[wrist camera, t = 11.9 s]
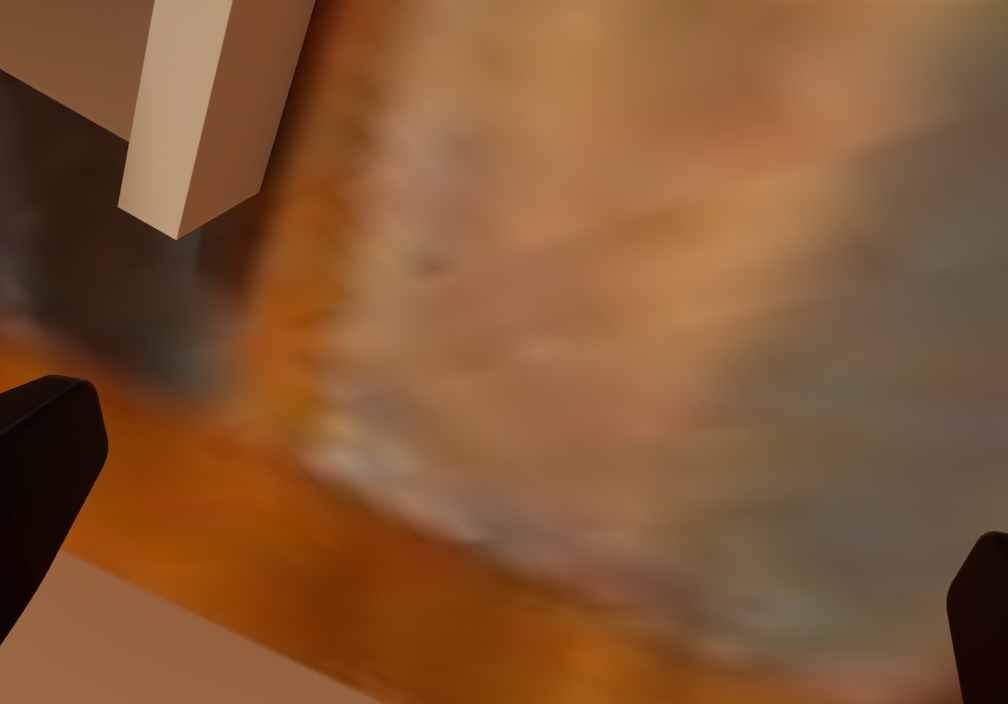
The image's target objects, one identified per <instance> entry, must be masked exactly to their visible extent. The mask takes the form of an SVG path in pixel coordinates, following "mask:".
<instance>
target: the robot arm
mask: <svg viewBox="0 0 1008 704" xmlns="http://www.w3.org/2000/svg"><path fill="white" fill-rule="evenodd" d="M107 454H108V437H107V433H106V428H105V424H104V420H103V415H102V411H101V406H100V402H99V397H98V393H97V390H96V388H95V387H94V385H93V384H92V383H91V382H89V381H87V380H84V379H79V378H73V377H67V376H61V375H48V376H44V377H42V378H39V379H36V380H34V381H31V382H29V383H26V384H24V385H21V386H18V387H16V388H13V389H11V390H8V391H5V392H3V393H0V645H1V644H2V642H3V641H4V639H5V638H6V636H7V635H8V633H9V632H10V631H11V629H12V628H13V626H14V625H15V623H16V622H17V620H18V618H19V617H20V616H21V614H22V612H23V611H24V609H25V608H26V606H27V605H28V603H29V602H30V600H31V599H32V597H33V595H34V594H35V592H36V590H37V589H38V587H39V586H40V584H41V582H42V580H43V579H44V577H45V575H46V573H47V572H48V570H49V568H50V566H51V564H52V562H53V561H54V559H55V557H56V555H57V553H58V551H59V549H60V547H61V545H62V544H63V542H64V540H65V538H66V536H67V534H68V532H69V530H70V528H71V527H72V525H73V523H74V521H75V519H76V517H77V515H78V513H79V511H80V510H81V508H82V506H83V504H84V502H85V500H86V498H87V496H88V494H89V493H90V491H91V489H92V487H93V485H94V483H95V481H96V479H97V477H98V476H99V474H100V472H101V470H102V468H103V466H104V464H105V461H106V458H107ZM947 615H948V621H949V626H950V632H951V638H952V643H953V649H954V655H955V660H956V666H957V672H958V677H959V683H960V689H961V694H962V700H963V704H1008V533H1004V532H998V531H992V532H987V533H985V534H984V535H982V536H981V537H980V538H979V539H978V541H977V542H976V544H975V545H974V547H973V549H972V550H971V552H970V553H969V555H968V557H967V558H966V560H965V562H964V563H963V565H962V567H961V568H960V570H959V571H958V573H957V575H956V576H955V578H954V580H953V581H952V583H951V585H950V587H949V590H948V594H947Z"/></svg>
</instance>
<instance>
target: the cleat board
mask: <svg viewBox="0 0 1008 704" xmlns="http://www.w3.org/2000/svg"><path fill="white" fill-rule="evenodd" d="M315 1H316V0H0V69H1V70H3V71H5V72H7V73H8V74H10V75H12V76H14V77H15V78H17V79H19V80H21V81H22V82H24V83H26V84H28V85H29V86H31V87H33V88H35V89H36V90H38V91H40V92H42V93H43V94H45V95H47V96H49V97H51V98H52V99H54V100H56V101H58V102H59V103H61V104H63V105H65V106H66V107H68V108H70V109H72V110H73V111H75V112H77V113H79V114H80V115H82V116H84V117H86V118H87V119H89V120H91V121H93V122H94V123H96V124H98V125H100V126H102V127H103V128H105V129H107V130H109V131H110V132H112V133H114V134H116V135H117V136H119V137H121V138H123V139H124V140H126V141H128V142H129V147H128V153H127V158H126V164H125V169H124V175H123V180H122V186H121V192H120V197H119V203H118V207H119V208H121V209H122V210H124V211H126V212H128V213H129V214H131V215H133V216H135V217H137V218H138V219H140V220H142V221H144V222H145V223H147V224H149V225H151V226H152V227H154V228H156V229H158V230H159V231H161V232H163V233H165V234H166V235H168V236H170V237H172V238H173V239H175V240H178V239H179V238H181V237H183V236H184V235H186V234H188V233H190V232H191V231H193V230H195V229H196V228H198V227H200V226H202V225H203V224H205V223H207V222H208V221H210V220H212V219H214V218H215V217H217V216H219V215H220V214H222V213H224V212H226V211H227V210H229V209H231V208H233V207H234V206H236V205H238V204H239V203H241V202H243V201H245V200H246V199H248V198H250V197H251V196H253V195H255V194H257V193H258V192H259V191H260V188H261V185H262V181H263V178H264V174H265V171H266V167H267V164H268V161H269V157H270V154H271V150H272V147H273V144H274V140H275V137H276V133H277V130H278V127H279V123H280V120H281V116H282V113H283V110H284V106H285V103H286V99H287V96H288V93H289V89H290V86H291V82H292V79H293V76H294V72H295V69H296V65H297V62H298V59H299V55H300V52H301V48H302V45H303V42H304V38H305V35H306V31H307V28H308V25H309V21H310V18H311V14H312V11H313V8H314V4H315Z"/></svg>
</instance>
